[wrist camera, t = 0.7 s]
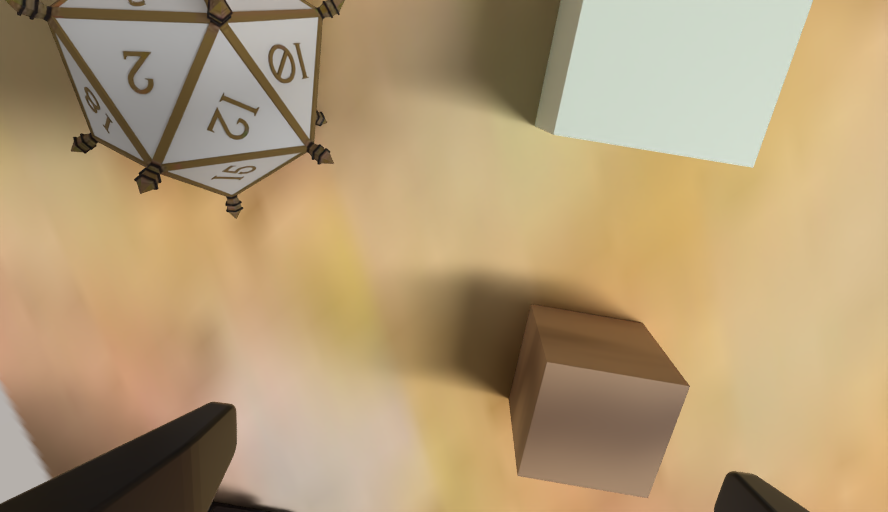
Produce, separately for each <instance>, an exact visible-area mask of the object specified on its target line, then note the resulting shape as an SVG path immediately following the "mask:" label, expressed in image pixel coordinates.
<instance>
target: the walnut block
mask: <svg viewBox="0 0 888 512" xmlns="http://www.w3.org/2000/svg"><path fill="white" fill-rule="evenodd" d="M689 387H690V386H689V385H688V383H687V382H686V381H685V379H684V378H683V376H682V375H681V374H680V372H679V371H678V370H677V368H676V367H675V366H674V364H673V363H672V362H671V360H670V359H669V358H668V356H667V355H666V354H665V352H664V351H663V350H662V348H661V347H660V346H659V344H658V343H657V342H656V340H655V339H654V338H653V336H652V335H651V334H650V332H649V331H648V330H647V328H646V327H645V325H644V324H643V323H640V322H634V321H628V320H622V319H616V318H610V317H604V316H599V315H593V314H587V313H581V312H575V311H569V310H563V309H557V308H551V307H546V306H540V305H534V304H531V307H530V311H529V315H528V320H527V324H526V328H525V332H524V336H523V341H522V345H521V349H520V353H519V358H518V362H517V366H516V370H515V375H514V379H513V383H512V387H511V392H510V396H509V405H510V414H511V422H512V431H513V440H514V449H515V457H516V466H517V475H518V476H521V477H527V478H533V479H539V480H545V481H550V482H556V483H562V484H568V485H574V486H579V487H585V488H591V489H597V490H603V491H609V492H614V493H620V494H626V495H632V496H638V497H644V498H648V496H649V494H650V491H651V488H652V486H653V483H654V480H655V478H656V475H657V472H658V470H659V467H660V464H661V462H662V459H663V456H664V454H665V451H666V448H667V446H668V443H669V440H670V438H671V435H672V432H673V430H674V427H675V424H676V422H677V419H678V416H679V414H680V411H681V408H682V406H683V403H684V400H685V398H686V395H687V393H688V390H689Z"/></svg>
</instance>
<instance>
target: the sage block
mask: <svg viewBox="0 0 888 512" xmlns="http://www.w3.org/2000/svg"><path fill="white" fill-rule="evenodd" d="M812 2H813V0H561V1H560V6H559V11H558V16H557V20H556V25H555V30H554V35H553V40H552V44H551V49H550V54H549V59H548V64H547V68H546V73H545V78H544V83H543V88H542V92H541V97H540V102H539V107H538V112H537V116H536V121H535V127H538V128H540V129H542V130H544V131H546V132H549V133H551V134H553V135H558V136H564V137H571V138H577V139H583V140H589V141H595V142H601V143H607V144H613V145H619V146H625V147H631V148H637V149H643V150H650V151H656V152H662V153H668V154H674V155H680V156H686V157H692V158H698V159H704V160H710V161H716V162H722V163H728V164H735V165H741V166H747V167H754V164H755V161H756V158H757V155H758V153H759V150H760V147H761V144H762V141H763V139H764V136H765V133H766V130H767V127H768V125H769V122H770V119H771V116H772V113H773V111H774V108H775V105H776V102H777V100H778V97H779V94H780V91H781V88H782V86H783V83H784V80H785V77H786V74H787V72H788V69H789V66H790V63H791V60H792V58H793V55H794V52H795V49H796V46H797V44H798V41H799V38H800V35H801V32H802V30H803V27H804V24H805V21H806V18H807V16H808V13H809V10H810V7H811V4H812Z"/></svg>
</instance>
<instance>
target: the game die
mask: <svg viewBox="0 0 888 512" xmlns="http://www.w3.org/2000/svg"><path fill="white" fill-rule="evenodd" d="M6 1H7V2H8V3H9V4H10V5H11V6H12V7H13V8H14V9H15V10H16V11H17V15H19V16H21V14H23V15H26V16H29V17H30V19H32V20H33V19H34V18H40V19H44V20H46V21H48V24H49V27H50V29H51V32H52V34H53V37H54V39H55V42H56V45H57V47H58V50H59V52H60V55H61V57H62V60H63V63H64V65H65V68H66V70H67V73H68V75H69V78H70V81H71V83H72V86H73V88H74V91H75V93H76V96H77V99H78V101H79V104H80V106H81V109H82V111H83V114H84V117H85V119H86V122H87V124H88V127H89V129H90V132H91V133H90V134H80V136H79V137H73V138H74V143H73V146H72V149H71V151H74V152H84V153H87V152H88V151H89V150H92V149H93V148H94V147H96V144H97V143H98V142H99V143H101V144H103V145H105V146H107V147H108V148H110V149H112V150H114V151H116V152H118V153H120V154H122V155H124V156H125V157H127V158H129V159H131V160H133V161H135V162H137V163H139V164H140V165H142V166H144V167H146V168H144V169H143V170H142V171H140V172H139V176H138V177H137V178H135V179H134V180H135V181H136V182H137V184H138V188H139V191H140V194H142V193H144V192H147V191H150V190H153V189H154V190H158V183H161V178H160V174H162V175H165V176H168V177H171V178H174V179H177V180H179V181H182V182H185V183H188V184H191V185H194V186H197V187H200V188H203V189H206V190H209V191H212V192H214V193H217V194H220V195H223V196H226V197H227V201H226V206H227V210H226V211H227V212H229V213H230V214H231V215H232V216H234V217H235V218H236V219H237V217H238V215H239V213H240V211H241V210H242V209H243V207H241V203H242V202H241V201H239V199H238V198H237V195H238V194H240V193H241V192H243V191H244V190H246V189H248V188H249V187H251V186H253V185H254V184H256V183H257V182H259V181H261V180H262V179H264V178H266V177H267V176H269V175H271V174H272V173H274V172H275V171H277V170H279V169H280V168H282V167H284V166H285V165H287V164H288V163H290V162H292V161H293V160H295V159H297V158H298V157H300V156H301V155H303V154H305V153H306V152H308V153H309V154H310V155H311V156H312V160H314V159H315V160H316V161H317V162H318V163H317V164H321V163H329V164H334V162H333V160H332V158H331V155H330V151H329V150H328V149H327V148H325V149H324V147H323V146H321V145H320V144H319V145H316V144H314V137H315V125H318V126H321V125H322V124H325V123H327V121H326V120H325V117H324V115H323V113H322V112H320V113H319V112H318V111H317V110H316V108H317V94H318V79H319V65H320V51H321V36H322V22H323V19H324V18H325V17H331V18H333V15H335V14H338V15H340V14H339V11H340V9H341V7H342V5H343V3H344V1H345V0H327V1H326V2H325V1H323V4H322V5H321V6H320V7H318V8H316V7H314V6H313V5H311V4H310V3H308V2H306V1H305V0H58V1H56V2H55V3H54V4H52V5H51V6H46V5H44V4H43V3H41V2H40V1H39V0H6Z"/></svg>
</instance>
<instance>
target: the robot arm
mask: <svg viewBox="0 0 888 512" xmlns="http://www.w3.org/2000/svg"><path fill="white" fill-rule="evenodd" d="M236 445H237V421H236V408H235V406H234V405H232V404H227V403H220V402H210V403H208V404H206V405H204V406H202V407H200V408H198V409H195V410H193V411H191V412H189V413H187V414H185V415H183V416H181V417H179V418H177V419H175V420H173V421H171V422H169V423H167V424H164V425H162V426H160V427H158V428H156V429H154V430H152V431H150V432H148V433H146V434H144V435H142V436H140V437H138V438H136V439H133V440H131V441H129V442H127V443H125V444H123V445H121V446H119V447H117V448H115V449H113V450H111V451H109V452H107V453H105V454H102V455H100V456H98V457H96V458H94V459H92V460H90V461H88V462H86V463H84V464H82V465H80V466H78V467H76V468H73V469H71V470H69V471H67V472H65V473H63V474H61V475H59V476H57V477H55V478H53V479H51V480H49V481H47V482H44V483H43V484H40V485H38V486H36V487H34V488H32V489H30V490H28V491H26V492H24V493H22V494H20V495H18V496H16V497H13V498H11V499H9V500H7V501H5V502H3V503H1V504H0V512H267V511H262V510H256V509H250V508H245V507H239V506H233V505H227V504H222V503H216V502H212V501H213V499H214V496H215V494H216V492H217V490H218V488H219V486H220V484H221V481H222V479H223V477H224V475H225V473H226V471H227V469H228V466H229V464H230V462H231V460H232V458H233V456H234V453H235V450H236ZM714 512H809V511H808V510H807V509H805V508H804V507H802V506H801V505H799V504H798V503H796V502H795V501H793V500H792V499H790V498H789V497H787V496H786V495H784V494H783V493H781V492H780V491H779V490H777V489H776V488H774V487H773V486H771V485H770V484H768V483H767V482H765V481H764V480H762V479H761V478H759V477H758V476H756V475H754V474H750V473H743V472H736V471H732V472H729V473H728V474H727V475H726V477H725V479H724V482H723V484H722V487H721V490H720V492H719V495H718V498H717V501H716V503H715V507H714Z"/></svg>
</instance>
